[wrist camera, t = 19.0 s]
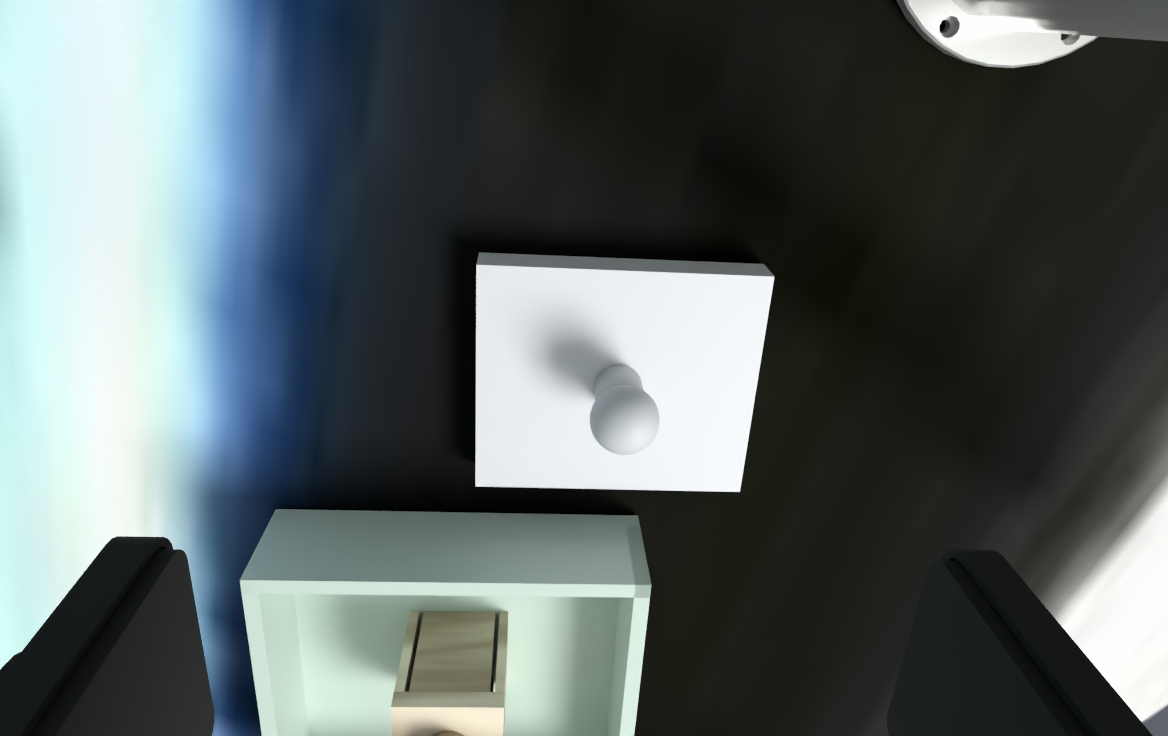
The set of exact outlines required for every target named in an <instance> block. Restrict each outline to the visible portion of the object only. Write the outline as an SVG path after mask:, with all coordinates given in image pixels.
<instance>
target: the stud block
mask: <svg viewBox="0 0 1168 736" xmlns="http://www.w3.org/2000/svg"><path fill="white" fill-rule="evenodd" d="M773 282H774V276H773V274H772V273H771V272H770V271H769V270H768V269H767V267H766V266H765V265H764V264H751V263H726V262H701V261H677V260H652V259H628V258H603V257H579V256H554V255H530V254H505V253H481V252H479V255H478V259H477V264H476V472H475V487H524V488H574V489H623V490H673V491H722V492H740V487H741V481H742V475H743V469H744V463H745V456H746V450H747V444H748V438H749V431H750V425H751V419H752V413H753V406H754V400H755V394H756V388H757V382H758V375H759V369H760V363H761V357H762V350H763V344H764V338H765V332H766V326H767V319H768V313H769V307H770V301H771V294H772V288H773Z"/></svg>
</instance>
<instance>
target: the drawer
mask: <svg viewBox="0 0 1168 736" xmlns="http://www.w3.org/2000/svg"><path fill="white" fill-rule="evenodd" d="M494 630H495V612H474V611H424V612H423V618H422V623H421V629H420V616H419V611H410V616H409V621H408V626H407V631H406V635H405V640H404V645H403V650H402V655H401V660H400V665H399V669H398V674H397V679H396V684H395V689H394V694H393V699H392V703H391V723H392V736H504V725H505V703H506V678H507V643H508V612H500V615H499V632H498V649H497V665H496V682H495V692H493V691H494V678H491V675H492V660H493V645H494Z"/></svg>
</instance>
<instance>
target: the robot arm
mask: <svg viewBox="0 0 1168 736" xmlns="http://www.w3.org/2000/svg"><path fill="white" fill-rule="evenodd" d="M896 1H897V3H898V4H899V6H900V8H901V10H902V12H903V14H904V15H905V17H906V19H907V20H908V21H909V23H910V24H911V25H912V26H913V27H914V28H915V29H916V31H917V32H918V33H919V34H920V35H921V36H922V37H923V39H925V40H926V41H928V42H929V43H930V44H932V45H933V46H935V47H936V48H937V49H939V50H940V51H941V52H943V53H945V54H947V55H950V56H952V57H954V58H957V59H959V60H962V61H964V62H967V63H973V64H978V65H983V66H988V67H1005V68H1017V67H1023V66H1030V65H1037V64H1042V63H1045V62H1047V61H1050V60H1053V59H1056V58H1059V57H1062V56H1065V55H1067V54H1069V53H1071V52H1073V51H1075V50H1077V49H1078V48H1080V47H1082V46H1084V45H1086V44H1088V43H1089V42H1091V41H1093V40H1094V39H1096V38H1097V37H1098V36H1101V37H1115V38H1130V39H1145V40H1159V41H1168V0H896ZM942 20H944V22H945V28H944V30H943V31H942V32H940V24H941V22H942ZM1061 34H1063V36H1062V37H1061ZM213 725H214V709H213V703H212V697H211V692H210V686H209V680H208V675H207V669H206V663H205V657H204V652H203V646H202V640H201V634H200V629H199V623H198V617H197V611H196V606H195V600H194V594H193V588H192V583H191V577H190V571H189V566H188V560H187V556H186V554H185V552H184V551H182V550H173V547H172V544H171V542H170V541H169V540H168V539H167V538H164V537H115V538H112V539H111V540H110V541H109V542H108V543H107V544H106V545H105V547H104V548H103V549H102V550H101V552H100V553H99V554H98V556H97V557H96V558H95V559H94V561H93V562H92V563H91V564H90V566H89V567H88V568H87V570H86V571H85V572H84V573H83V575H82V576H81V577H80V578H79V580H78V581H77V582H76V583H75V585H74V586H73V587H72V589H71V590H70V591H69V592H68V594H67V595H66V596H65V597H64V599H63V600H62V601H61V603H60V604H59V605H58V606H57V608H56V609H55V610H54V611H53V613H52V614H51V615H50V617H49V618H48V619H47V620H46V622H45V623H44V624H43V625H42V627H41V628H40V629H39V631H38V632H37V633H36V634H35V636H34V637H33V638H32V639H31V641H30V642H29V643H28V644H27V646H26V647H25V648H24V650H23V651H22V652H20V653H18V654H16V655H14V656H13V657H12V658H11V659H10V660H9V661H8V662H7V663H6V664H5V665H4V666H3V667H2V669H1V670H0V736H212V732H213ZM887 726H888V732H889V736H1152V734H1151V733H1150V732H1149V731H1148V730H1147V729H1146V727H1145V726H1144V725H1143V724H1142V722H1141V721H1140V720H1139V719H1138V718H1137V716H1136V715H1135V714H1134V713H1133V712H1132V710H1131V709H1130V708H1129V707H1128V706H1127V704H1126V703H1125V702H1124V701H1123V700H1122V698H1121V697H1120V696H1119V695H1118V694H1117V692H1116V691H1115V690H1114V689H1113V688H1112V686H1111V685H1110V684H1109V683H1108V682H1107V681H1106V679H1105V678H1104V677H1103V676H1102V675H1101V673H1100V672H1099V671H1098V670H1097V669H1096V667H1095V666H1094V665H1093V664H1092V663H1091V661H1090V660H1089V659H1088V658H1087V657H1086V655H1085V654H1084V653H1083V652H1082V651H1081V649H1080V648H1079V647H1078V646H1077V645H1076V643H1075V642H1074V641H1073V640H1072V639H1071V637H1070V636H1069V635H1068V634H1067V633H1066V631H1065V630H1064V629H1063V628H1062V627H1061V625H1060V624H1059V623H1058V622H1057V621H1056V619H1055V618H1054V617H1053V616H1052V615H1051V613H1050V612H1049V611H1048V610H1047V609H1046V607H1045V606H1044V605H1043V604H1042V603H1041V601H1040V600H1039V599H1038V598H1037V597H1036V595H1035V594H1034V593H1033V592H1032V591H1031V589H1030V588H1029V587H1028V586H1027V585H1026V583H1025V582H1024V581H1023V580H1022V579H1021V577H1020V576H1019V575H1018V574H1017V573H1016V571H1015V570H1014V569H1013V568H1012V567H1011V565H1010V564H1009V563H1008V562H1007V561H1006V559H1005V558H1004V557H1003V556H1002V555H1001V554H999V553H998V552H997V551H993V550H962V549H952V550H948V551H946V553H945V554H944V555H943V556H942V558H941V561H934V562H933V563H932V564H931V565H930V567H929V570H928V573H927V576H926V580H925V583H924V587H923V590H922V594H921V597H920V601H919V604H918V608H917V611H916V615H915V618H914V622H913V625H912V629H911V632H910V636H909V639H908V643H907V646H906V650H905V653H904V657H903V660H902V664H901V667H900V671H899V674H898V678H897V681H896V685H895V688H894V692H893V695H892V699H891V702H890V706H889V709H888V715H887Z"/></svg>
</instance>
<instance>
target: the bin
mask: <svg viewBox="0 0 1168 736" xmlns="http://www.w3.org/2000/svg"><path fill="white" fill-rule="evenodd" d="M240 586H241V593H242V600H243V607H244V614H245V621H246V628H247V635H248V642H249V649H250V656H251V663H252V670H253V677H254V684H255V691H256V697H257V704H258V711H259V718H260V725H261V732H262V736H392V723H391V703H392V699H393V694H394V689H395V684H396V679H397V674H398V669H399V665H400V660H401V655H402V650H403V645H404V640H405V635H406V631H407V626H408V621H409V616H410V611H419V616H420V629H421V623H422V618H423V612H424V611H474V612H495V630H494V645H493V660H492V675H491V678H494V691H493V692H495V682H496V665H497V649H498V632H499V615H500V612H508V643H507V678H506V703H505V725H504V736H634V732H635V723H636V714H637V706H638V697H639V688H640V679H641V671H642V662H643V653H644V644H645V636H646V627H647V618H648V609H649V601H650V592H651V581H650V576H649V571H648V566H647V561H646V555H645V550H644V545H643V540H642V535H641V530H640V525H639V520H638V516H635V515H579V514H523V513H467V512H411V511H356V510H300V509H276V510H275V512H274V514H273V516H272V518H271V520H270V522H269V524H268V525H267V527H266V529H265V531H264V533H263V535H262V537H261V539H260V541H259V543H258V545H257V547H256V549H255V551H254V553H253V555H252V557H251V559H250V561H249V563H248V565H247V567H246V569H245V571H244V573H243V575H242V576H241V578H240Z"/></svg>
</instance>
